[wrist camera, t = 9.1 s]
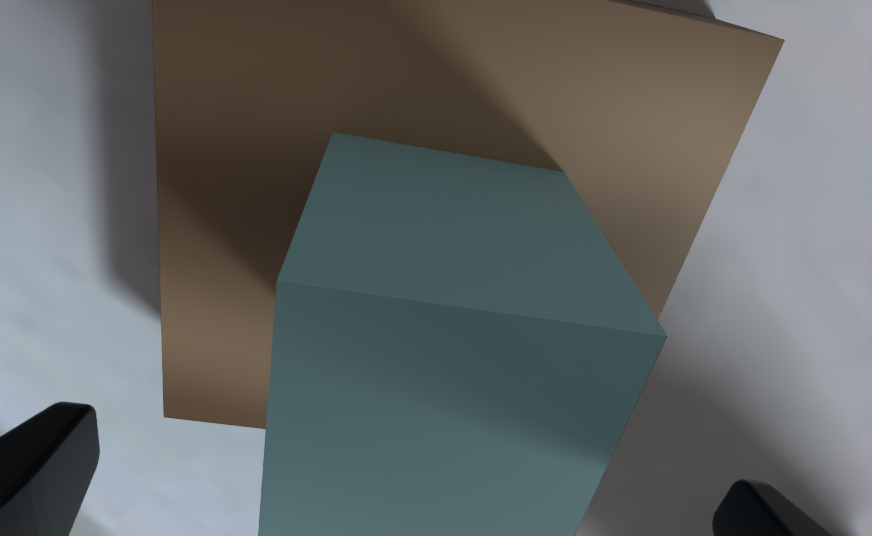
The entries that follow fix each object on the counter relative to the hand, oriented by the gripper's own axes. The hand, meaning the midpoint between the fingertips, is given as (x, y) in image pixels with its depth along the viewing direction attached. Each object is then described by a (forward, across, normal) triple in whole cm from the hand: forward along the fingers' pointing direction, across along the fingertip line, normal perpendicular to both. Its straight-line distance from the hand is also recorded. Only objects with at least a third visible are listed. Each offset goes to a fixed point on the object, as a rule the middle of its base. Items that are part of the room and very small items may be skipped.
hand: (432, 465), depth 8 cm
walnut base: (+9, 0, 0) cm, 9 cm away
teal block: (+6, 0, 0) cm, 6 cm away
